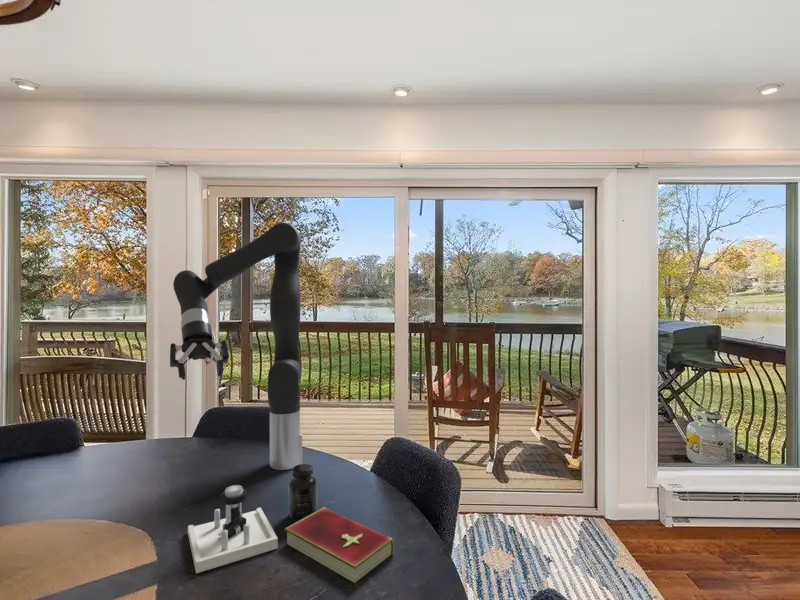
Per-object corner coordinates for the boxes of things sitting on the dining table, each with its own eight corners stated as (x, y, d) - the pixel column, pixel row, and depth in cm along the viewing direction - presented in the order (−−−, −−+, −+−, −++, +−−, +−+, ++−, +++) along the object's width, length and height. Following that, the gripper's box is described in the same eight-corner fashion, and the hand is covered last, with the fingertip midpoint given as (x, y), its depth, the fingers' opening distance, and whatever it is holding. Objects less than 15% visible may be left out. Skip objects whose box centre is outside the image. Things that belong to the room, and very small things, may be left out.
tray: (259, 514, 107) (259, 493, 107) (277, 548, 93) (277, 524, 93) (187, 533, 99) (187, 510, 98) (196, 573, 85) (195, 547, 85)
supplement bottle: (322, 511, 109) (322, 464, 108) (307, 525, 102) (308, 475, 102) (298, 506, 111) (298, 460, 110) (283, 520, 104) (282, 471, 104)
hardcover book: (325, 522, 104) (325, 505, 104) (393, 556, 92) (394, 536, 92) (284, 546, 95) (284, 527, 95) (354, 587, 82) (354, 565, 82)
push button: (226, 545, 92) (226, 499, 92) (210, 537, 95) (210, 492, 94) (251, 530, 98) (251, 486, 97) (236, 523, 101) (236, 481, 100)
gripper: (168, 320, 116) (171, 370, 106) (225, 318, 123) (233, 365, 114) (167, 338, 121) (170, 387, 111) (222, 335, 128) (229, 381, 119)
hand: (202, 376), depth 113 cm, fingers open, 8 cm apart
